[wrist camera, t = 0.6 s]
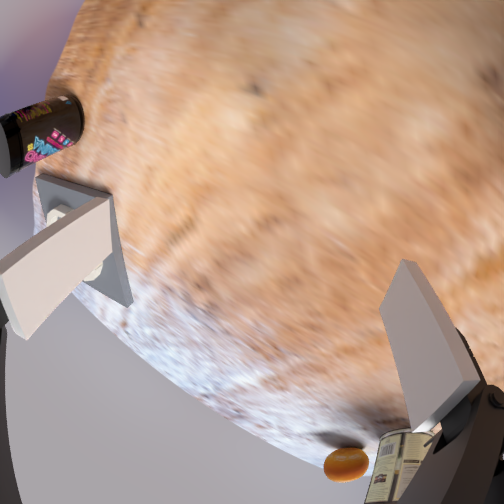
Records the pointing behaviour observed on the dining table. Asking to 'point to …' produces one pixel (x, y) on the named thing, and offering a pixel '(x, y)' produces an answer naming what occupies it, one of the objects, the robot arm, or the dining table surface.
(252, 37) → the dining table surface
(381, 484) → the coffee can
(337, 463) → the fruit
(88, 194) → the ring board
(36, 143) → the supplement container
